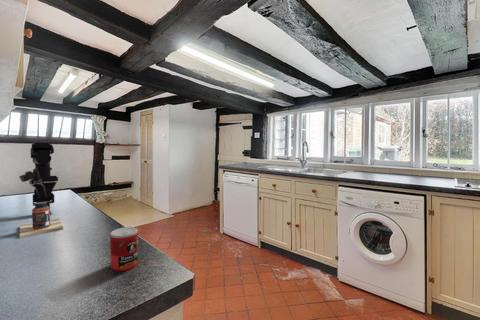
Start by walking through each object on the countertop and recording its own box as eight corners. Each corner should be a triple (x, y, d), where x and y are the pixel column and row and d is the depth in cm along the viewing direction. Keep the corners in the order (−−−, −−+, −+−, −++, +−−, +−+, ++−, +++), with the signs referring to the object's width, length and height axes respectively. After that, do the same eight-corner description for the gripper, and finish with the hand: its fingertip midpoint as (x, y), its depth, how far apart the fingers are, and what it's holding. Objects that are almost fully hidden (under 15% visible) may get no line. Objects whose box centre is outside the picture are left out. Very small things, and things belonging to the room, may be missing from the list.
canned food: (120, 274, 64) (119, 237, 63) (105, 267, 68) (104, 232, 68) (143, 263, 70) (143, 229, 70) (129, 257, 75) (128, 225, 74)
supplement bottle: (52, 226, 100) (51, 202, 100) (35, 230, 95) (34, 205, 95) (47, 224, 103) (46, 200, 103) (30, 228, 98) (29, 203, 98)
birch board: (20, 227, 103) (20, 224, 103) (58, 220, 113) (58, 218, 113) (19, 238, 90) (19, 235, 90) (63, 229, 100) (63, 227, 100)
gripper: (14, 168, 109) (15, 200, 108) (27, 164, 99) (28, 199, 98) (43, 168, 118) (44, 197, 117) (57, 164, 108) (59, 195, 107)
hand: (44, 197), depth 110 cm, fingers open, 9 cm apart
